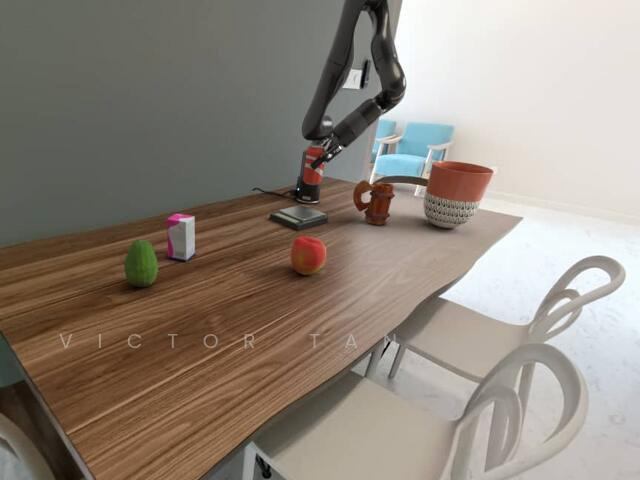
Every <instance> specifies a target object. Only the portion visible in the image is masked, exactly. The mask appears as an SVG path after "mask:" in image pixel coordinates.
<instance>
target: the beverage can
mask: <svg viewBox="0 0 640 480" xmlns="http://www.w3.org/2000/svg"><path fill="white" fill-rule="evenodd" d="M308 146H309V148H308V149H307V154H306V161H305V169H304V176H303V181H304V182H305V183H306V184H310V185H317V184H319V183H321V180H322V181H323V178H322V174H323V175H324V171H323V167H324V168H325V165H324V162H323V163H322V164H321V165H320V166H319V167H318V168H317V169H315V170H313V169H312V168H311V166H310V165H311V164H312V163H313V162H314V161H315V160H316V159H317V158H318V157H319V158H320V155H321V154H322V153H323V149H324V148H325V146H322V145H310V144H309V145H308Z"/></svg>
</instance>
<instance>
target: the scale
mask: <svg viewBox="0 0 640 480" xmlns="http://www.w3.org/2000/svg"><path fill="white" fill-rule="evenodd" d="M269 220H271V221H273V222H276V223H278V224H280V225H283V226H285V227H287V228H290V229H293V230H295V231H298V232H299V231H302V230H305V229H308V228H313V227H317V226H320V225H323V224H327V223H328V221H329V216H326V215H325V216H323V217H320V218H316V219H312V220H308V221H305V222H302V221H300V220H297V219H295V218H292V217H290V216H287V215H284V214H282V213H279V211H275V212H272V213H271V212H270V213H269Z"/></svg>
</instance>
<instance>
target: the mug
mask: <svg viewBox="0 0 640 480" xmlns="http://www.w3.org/2000/svg"><path fill="white" fill-rule="evenodd" d="M394 188H395V185H394V184H393V183H390V182H386V183H385V182H381V181H379V182H375V184H371V183H370V182H369V181H368V180H367V179H363V180H361V181H360V182H358V183H357V184H356V186H355V187H354V189H353V194H352V195H353V196H352V199H353V203H354V206H355V208H356V210H358V212H363V213H364V215H365V216H364V220H365V221H366V222H368V223H370V224H372V225H376V226H380V225H383V224H385V223H386V222H387V220H388V218H390V217H391V214H390V213H389V210H390V208H391V207H390V206H391V203H392V200H393V198H395V196H396V194H395V193H394ZM369 191H370V192H369ZM367 192H369V195H370V201H367V202H364V201H362V195H363V194H365V193H367Z"/></svg>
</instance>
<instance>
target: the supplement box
mask: <svg viewBox="0 0 640 480" xmlns="http://www.w3.org/2000/svg"><path fill="white" fill-rule="evenodd" d="M166 227H167V228H166V231H167V257H168V259H171V260H176V261H180V262H185V263H186V262H188V261H189V260H190V259H192V257H194V256H195V254H196V252H195V251H196V249H195V247H196V245H195V244H196V241H195V239H196V238H195V237H196V236H195V235H196V232H195V231H196V230H195V215H189V214H182V213H174V214H173V215H171V216H169V217H168V218H167V219H166Z"/></svg>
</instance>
